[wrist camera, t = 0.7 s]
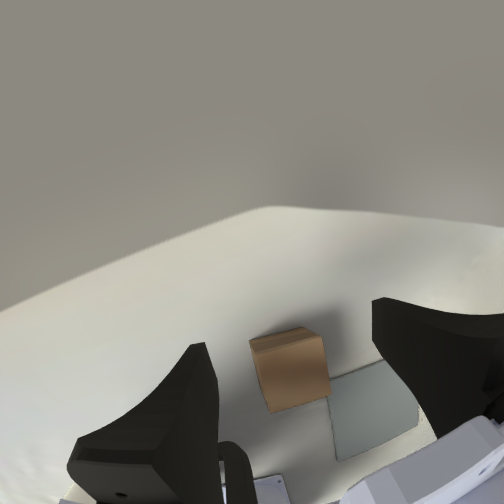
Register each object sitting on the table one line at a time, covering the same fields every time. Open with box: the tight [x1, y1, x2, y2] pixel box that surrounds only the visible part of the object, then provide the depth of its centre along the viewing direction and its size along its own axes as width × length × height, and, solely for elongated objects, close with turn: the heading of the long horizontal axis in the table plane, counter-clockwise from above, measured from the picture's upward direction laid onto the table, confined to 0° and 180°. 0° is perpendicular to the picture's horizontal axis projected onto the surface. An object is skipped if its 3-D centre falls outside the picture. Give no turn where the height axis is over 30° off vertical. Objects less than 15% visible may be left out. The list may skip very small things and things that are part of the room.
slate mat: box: [327, 359, 418, 462], centre depth 28 cm, size 12×12×1 cm
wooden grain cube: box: [249, 327, 332, 413], centre depth 25 cm, size 6×6×6 cm
